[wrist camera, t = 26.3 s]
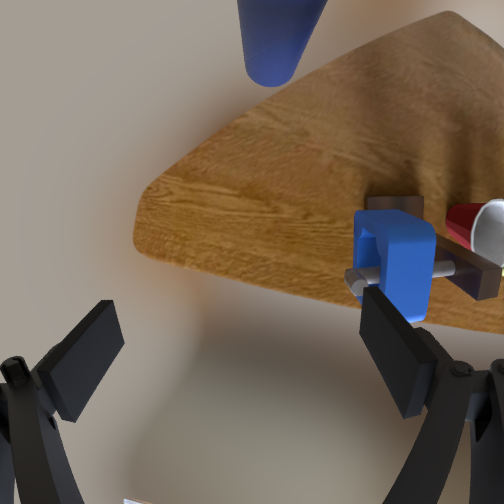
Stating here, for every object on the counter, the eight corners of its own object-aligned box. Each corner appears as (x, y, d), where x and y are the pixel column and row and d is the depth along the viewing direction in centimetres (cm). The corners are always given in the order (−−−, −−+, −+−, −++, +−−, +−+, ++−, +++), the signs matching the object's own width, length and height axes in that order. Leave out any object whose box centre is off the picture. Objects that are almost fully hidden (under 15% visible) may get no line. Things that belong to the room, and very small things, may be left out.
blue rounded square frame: (351, 290, 36) (379, 333, 27) (353, 208, 33) (389, 228, 24) (388, 286, 36) (424, 325, 27) (393, 207, 33) (437, 226, 24)
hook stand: (310, 262, 48) (355, 355, 24) (308, 197, 45) (364, 239, 21) (416, 254, 47) (509, 322, 23) (419, 195, 44) (528, 230, 20)
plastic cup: (448, 177, 43) (493, 184, 32) (485, 207, 44) (527, 220, 33) (423, 233, 46) (463, 254, 34) (461, 258, 47) (500, 282, 36)
